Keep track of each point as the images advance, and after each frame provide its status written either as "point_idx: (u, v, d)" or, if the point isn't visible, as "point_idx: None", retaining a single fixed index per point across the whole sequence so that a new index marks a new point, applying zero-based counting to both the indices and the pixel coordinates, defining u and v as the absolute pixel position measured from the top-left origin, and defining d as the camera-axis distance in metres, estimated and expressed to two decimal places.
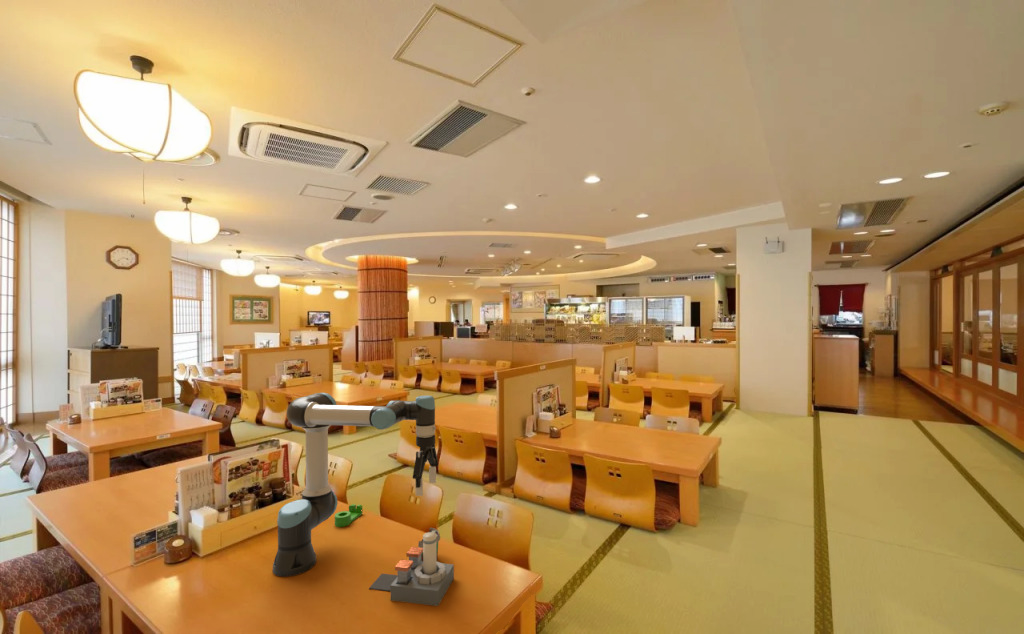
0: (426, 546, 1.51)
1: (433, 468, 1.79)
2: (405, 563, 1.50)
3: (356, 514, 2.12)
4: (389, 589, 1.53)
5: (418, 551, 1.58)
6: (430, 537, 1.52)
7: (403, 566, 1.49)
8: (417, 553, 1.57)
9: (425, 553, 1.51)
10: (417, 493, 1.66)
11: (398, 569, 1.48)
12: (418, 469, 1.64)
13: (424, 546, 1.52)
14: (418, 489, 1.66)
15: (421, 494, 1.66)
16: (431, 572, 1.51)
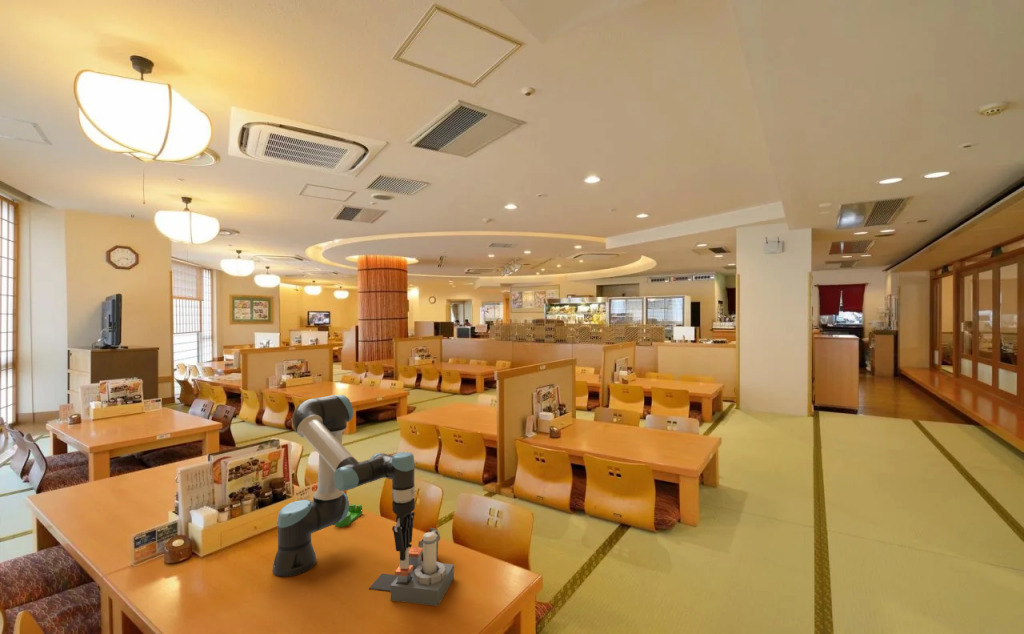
0: (426, 546, 1.51)
1: None
2: None
3: (356, 514, 2.12)
4: (389, 589, 1.53)
5: (418, 551, 1.58)
6: (430, 537, 1.52)
7: (403, 571, 1.48)
8: (417, 553, 1.57)
9: (425, 553, 1.51)
10: (401, 566, 1.50)
11: (398, 573, 1.48)
12: (400, 543, 1.46)
13: (424, 546, 1.52)
14: (403, 562, 1.49)
15: (406, 567, 1.49)
16: (431, 572, 1.51)
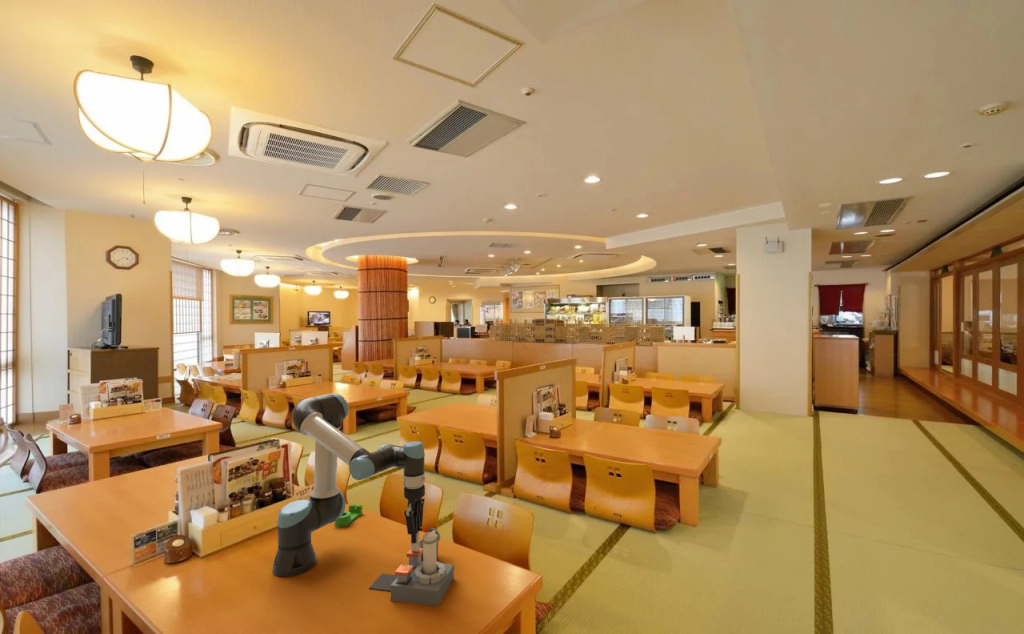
0: (426, 546, 1.51)
1: None
2: (405, 568, 1.50)
3: (356, 514, 2.12)
4: (389, 589, 1.53)
5: (418, 551, 1.58)
6: (430, 537, 1.52)
7: (403, 571, 1.48)
8: (417, 553, 1.57)
9: (425, 553, 1.51)
10: (413, 549, 1.58)
11: (398, 574, 1.48)
12: (411, 527, 1.55)
13: (424, 546, 1.52)
14: (414, 544, 1.58)
15: (417, 550, 1.58)
16: (431, 572, 1.51)
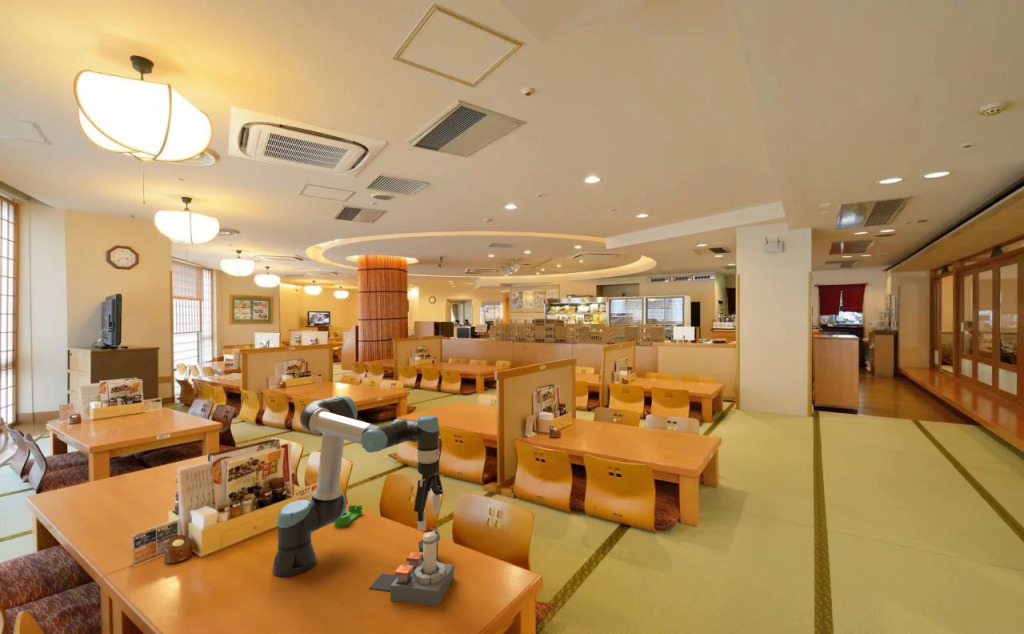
0: (426, 546, 1.51)
1: (437, 497, 1.60)
2: (405, 568, 1.50)
3: (355, 514, 2.12)
4: (389, 589, 1.53)
5: (418, 556, 1.58)
6: (430, 537, 1.52)
7: (403, 571, 1.48)
8: (417, 558, 1.57)
9: (425, 553, 1.51)
10: (419, 527, 1.47)
11: (398, 574, 1.48)
12: (420, 501, 1.45)
13: (424, 546, 1.52)
14: (420, 523, 1.46)
15: (424, 529, 1.46)
16: (431, 572, 1.51)
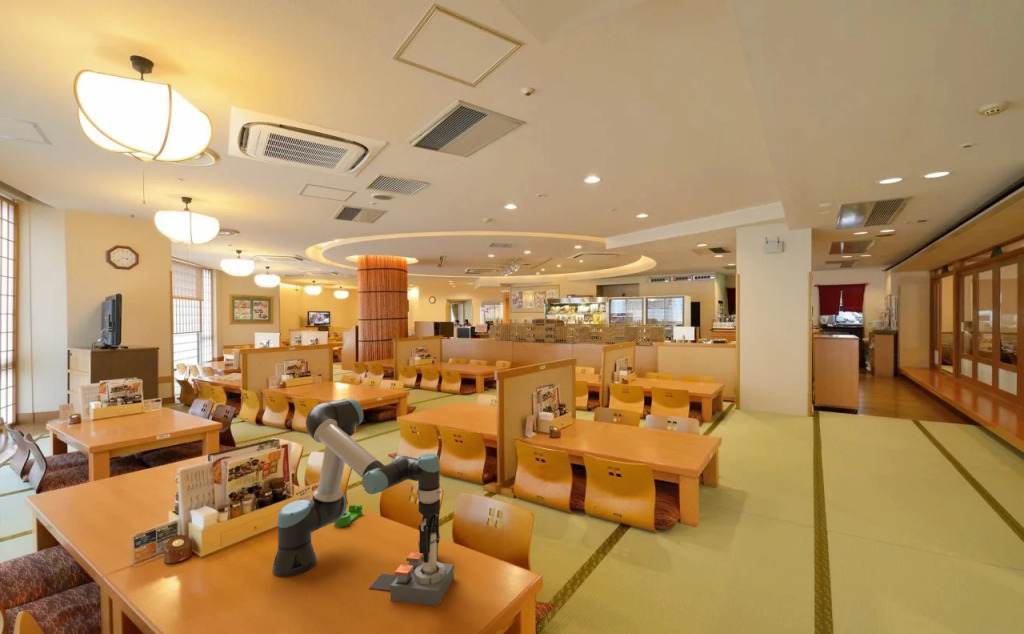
0: None
1: None
2: (405, 568, 1.50)
3: (355, 514, 2.12)
4: (389, 589, 1.53)
5: (418, 556, 1.58)
6: None
7: (403, 571, 1.48)
8: (417, 558, 1.57)
9: None
10: (425, 568, 1.50)
11: (398, 574, 1.48)
12: (424, 544, 1.47)
13: None
14: (426, 564, 1.50)
15: (429, 569, 1.50)
16: (431, 572, 1.51)
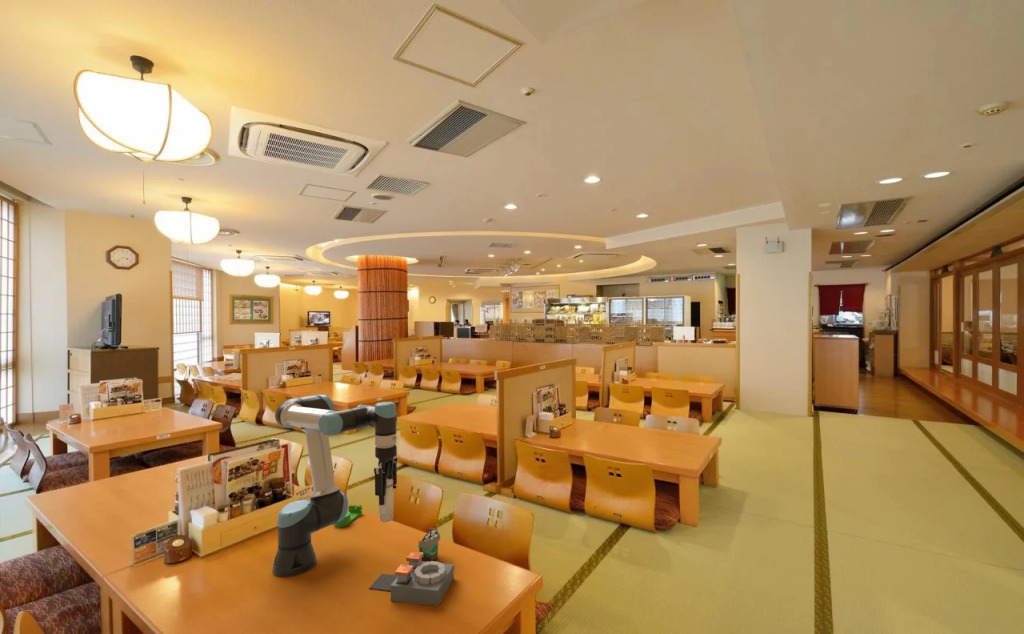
0: None
1: None
2: (405, 568, 1.50)
3: (355, 514, 2.12)
4: (389, 589, 1.53)
5: (418, 556, 1.58)
6: None
7: (403, 571, 1.48)
8: (417, 558, 1.57)
9: None
10: (380, 511, 1.55)
11: (398, 574, 1.48)
12: (379, 487, 1.52)
13: None
14: (382, 506, 1.55)
15: (385, 512, 1.55)
16: (387, 515, 1.56)
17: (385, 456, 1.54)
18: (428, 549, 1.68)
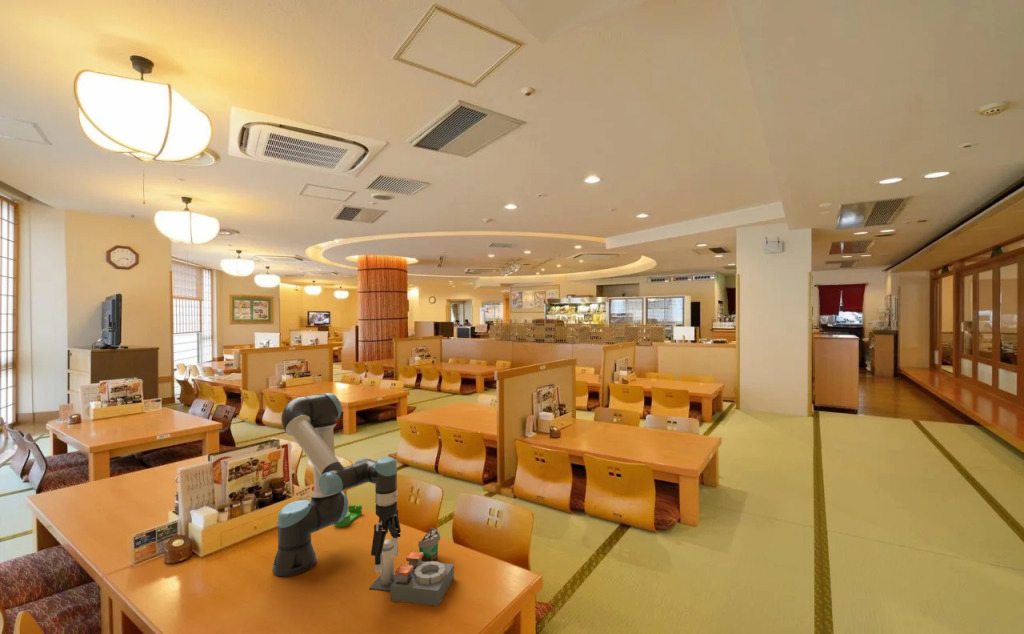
0: (383, 553, 1.56)
1: (394, 540, 1.63)
2: (405, 568, 1.50)
3: (355, 514, 2.12)
4: (389, 589, 1.53)
5: (418, 556, 1.58)
6: (387, 544, 1.56)
7: (403, 571, 1.48)
8: (417, 558, 1.57)
9: None
10: (377, 570, 1.52)
11: (398, 574, 1.48)
12: (377, 545, 1.50)
13: None
14: (378, 566, 1.52)
15: (381, 571, 1.51)
16: (387, 578, 1.55)
17: (385, 514, 1.54)
18: (428, 549, 1.68)
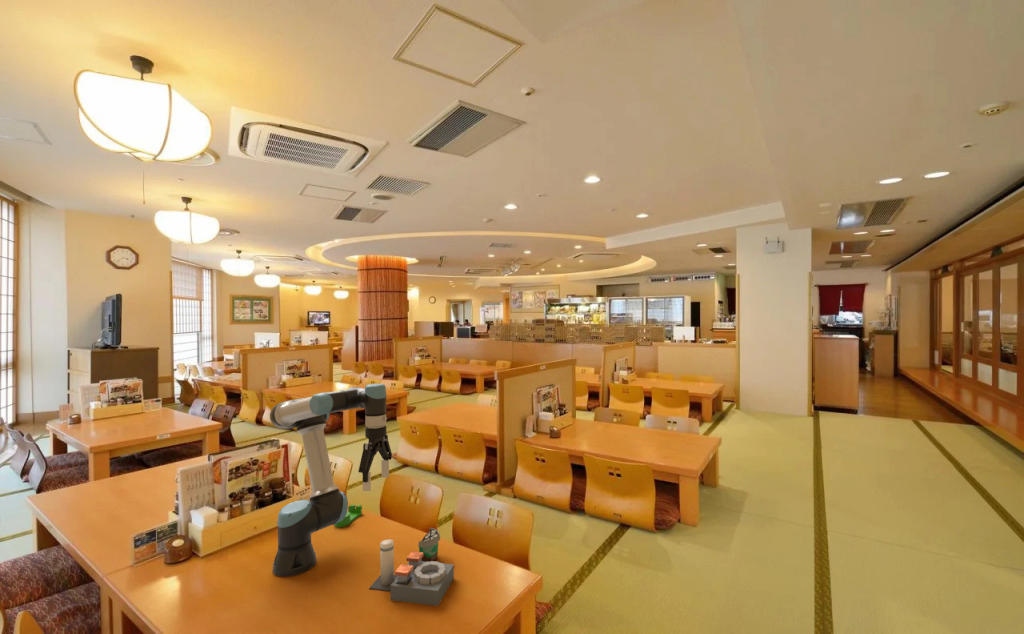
0: (383, 553, 1.55)
1: (386, 462, 1.67)
2: (405, 568, 1.50)
3: (355, 514, 2.12)
4: (389, 589, 1.53)
5: (418, 556, 1.58)
6: (387, 544, 1.56)
7: (403, 571, 1.48)
8: (417, 558, 1.57)
9: (382, 560, 1.56)
10: (364, 488, 1.54)
11: (398, 574, 1.48)
12: (365, 462, 1.52)
13: (381, 553, 1.56)
14: (365, 484, 1.54)
15: (368, 489, 1.54)
16: (387, 578, 1.55)
17: (375, 436, 1.57)
18: (428, 549, 1.68)
